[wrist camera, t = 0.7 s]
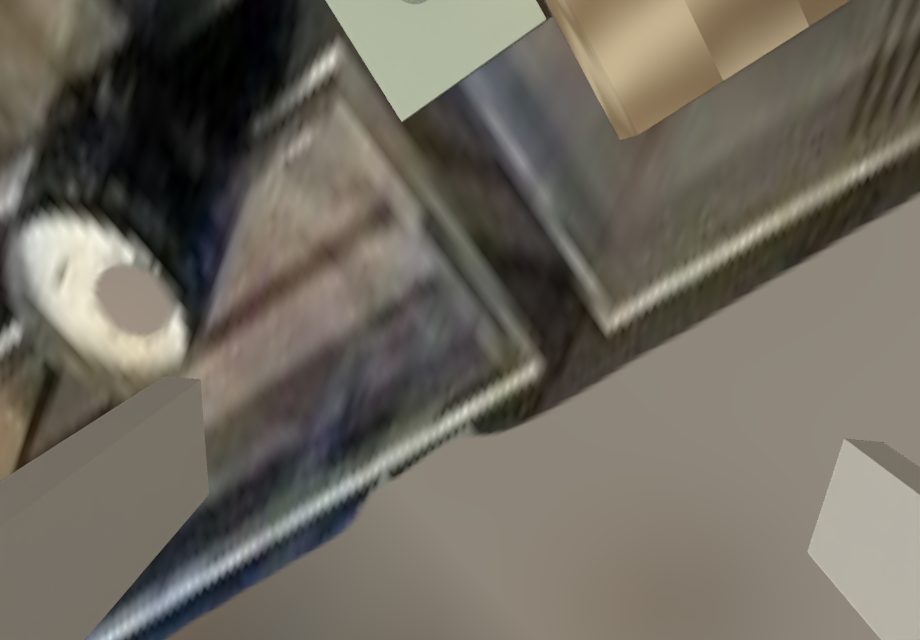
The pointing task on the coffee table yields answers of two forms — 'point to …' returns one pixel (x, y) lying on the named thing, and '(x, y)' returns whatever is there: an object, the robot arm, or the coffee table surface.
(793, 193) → the coffee table surface
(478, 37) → the mat
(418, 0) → the pin
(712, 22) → the hole block
